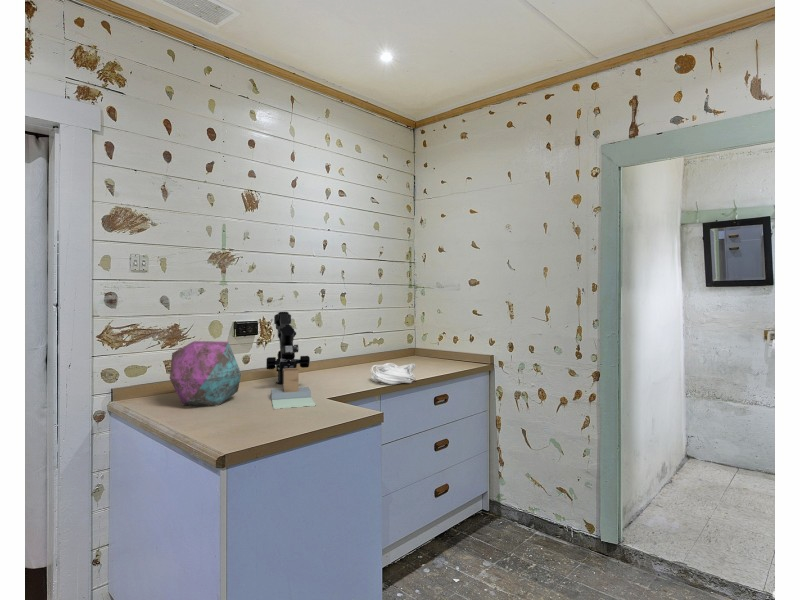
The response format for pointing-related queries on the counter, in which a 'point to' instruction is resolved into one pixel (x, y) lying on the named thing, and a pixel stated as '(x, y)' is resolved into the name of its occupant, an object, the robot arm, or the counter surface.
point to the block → (290, 380)
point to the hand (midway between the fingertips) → (289, 377)
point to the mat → (292, 403)
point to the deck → (290, 394)
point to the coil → (393, 373)
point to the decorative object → (205, 373)
